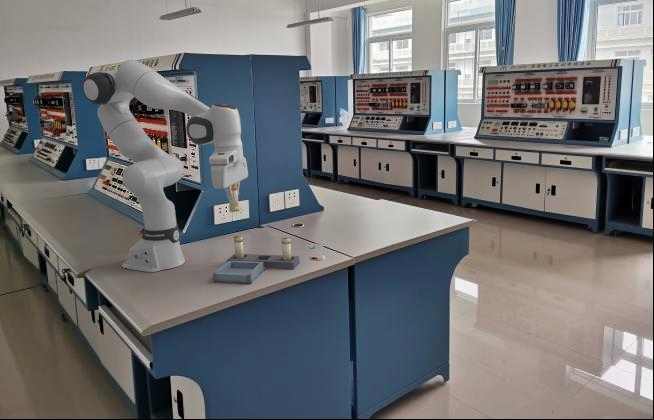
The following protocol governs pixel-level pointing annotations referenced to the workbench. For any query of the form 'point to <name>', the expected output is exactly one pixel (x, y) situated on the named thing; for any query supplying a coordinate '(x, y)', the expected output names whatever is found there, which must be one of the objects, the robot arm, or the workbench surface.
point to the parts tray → (239, 272)
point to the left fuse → (239, 247)
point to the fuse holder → (269, 260)
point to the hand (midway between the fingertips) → (233, 197)
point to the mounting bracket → (315, 246)
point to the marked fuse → (234, 199)
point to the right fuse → (286, 248)
